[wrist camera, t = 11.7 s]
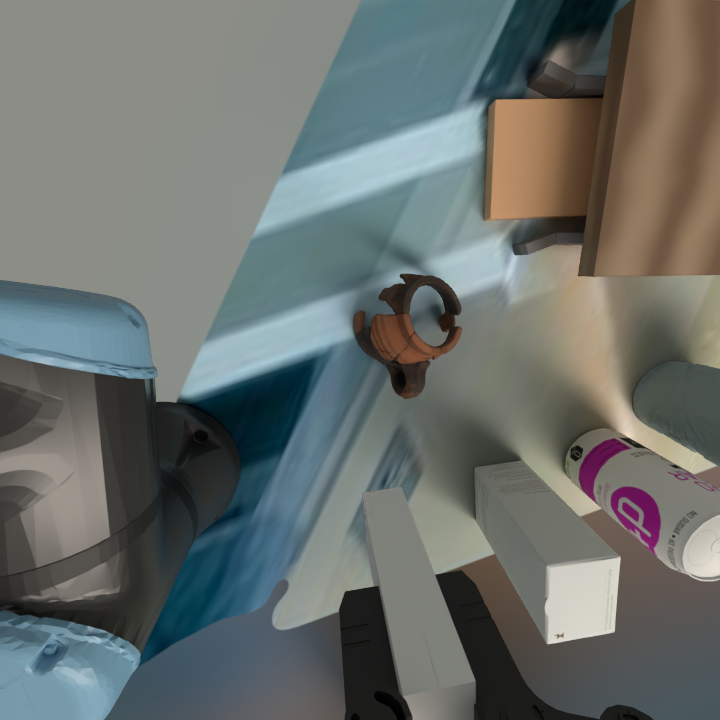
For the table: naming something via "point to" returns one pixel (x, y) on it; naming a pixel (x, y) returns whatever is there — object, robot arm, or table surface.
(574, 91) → the walnut shelf
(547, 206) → the terracotta panel
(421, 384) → the broken clay pot
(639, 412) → the grey cylindrical pot
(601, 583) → the skincare box
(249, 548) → the table surface
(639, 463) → the supplement can
